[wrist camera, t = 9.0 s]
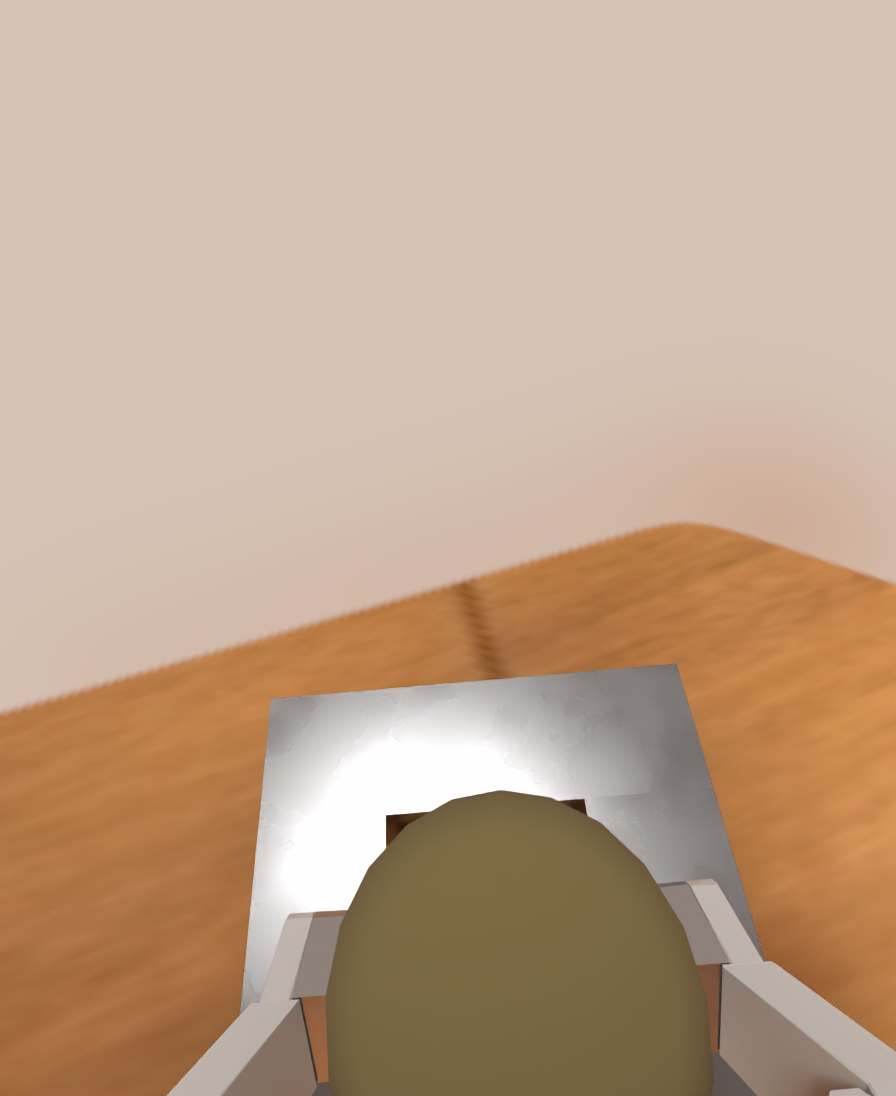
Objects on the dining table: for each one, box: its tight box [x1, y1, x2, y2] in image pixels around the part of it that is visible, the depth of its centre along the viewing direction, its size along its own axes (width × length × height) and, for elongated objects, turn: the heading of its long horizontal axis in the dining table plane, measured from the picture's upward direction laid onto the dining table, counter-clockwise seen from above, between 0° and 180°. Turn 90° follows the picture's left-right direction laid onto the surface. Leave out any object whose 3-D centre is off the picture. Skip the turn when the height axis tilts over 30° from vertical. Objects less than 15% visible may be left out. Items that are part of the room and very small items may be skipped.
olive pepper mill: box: [326, 790, 714, 1096], centre depth 11 cm, size 6×6×11 cm
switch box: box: [240, 664, 765, 1096], centre depth 19 cm, size 16×16×4 cm
